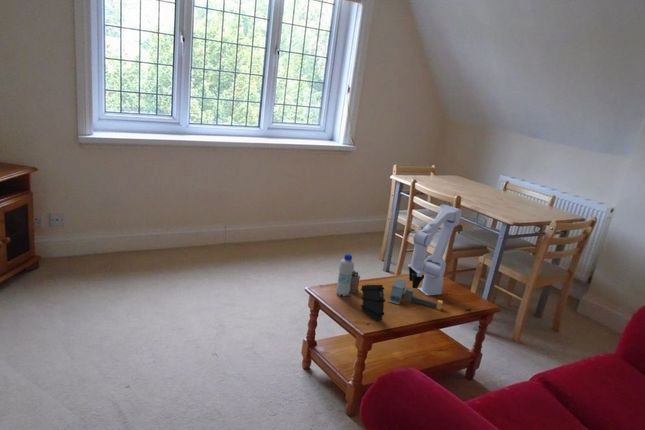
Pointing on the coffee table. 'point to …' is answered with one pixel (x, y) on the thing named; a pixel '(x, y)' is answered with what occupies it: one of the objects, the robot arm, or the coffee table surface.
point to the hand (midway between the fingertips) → (413, 284)
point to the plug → (420, 299)
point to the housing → (397, 291)
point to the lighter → (354, 281)
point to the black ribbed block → (373, 301)
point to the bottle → (345, 275)
